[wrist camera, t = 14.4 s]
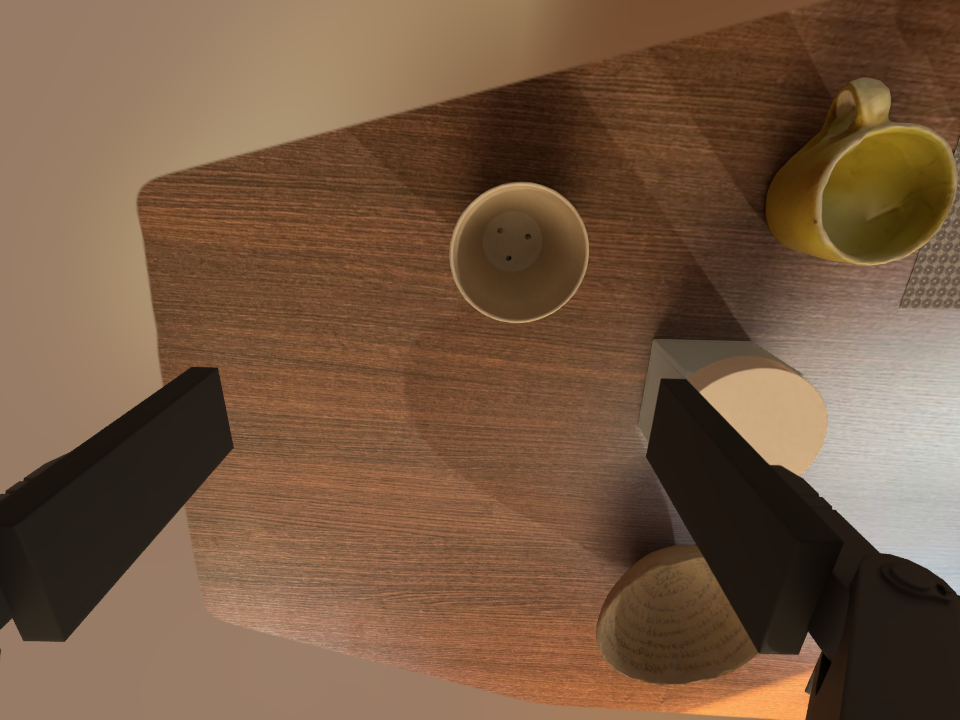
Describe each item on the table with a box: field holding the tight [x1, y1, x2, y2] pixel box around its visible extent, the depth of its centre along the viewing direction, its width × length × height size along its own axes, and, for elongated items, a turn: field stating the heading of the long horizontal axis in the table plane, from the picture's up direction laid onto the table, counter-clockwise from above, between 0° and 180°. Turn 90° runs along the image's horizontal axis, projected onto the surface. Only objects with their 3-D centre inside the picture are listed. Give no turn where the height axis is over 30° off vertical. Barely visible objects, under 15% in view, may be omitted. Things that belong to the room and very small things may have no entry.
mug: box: [765, 77, 958, 266], centre depth 35 cm, size 12×10×10 cm
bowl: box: [596, 545, 759, 685], centre depth 51 cm, size 18×18×8 cm
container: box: [638, 339, 803, 443], centre depth 42 cm, size 9×9×8 cm
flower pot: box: [449, 182, 589, 323], centre depth 37 cm, size 10×10×7 cm
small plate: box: [687, 356, 828, 476], centre depth 38 cm, size 12×12×2 cm
